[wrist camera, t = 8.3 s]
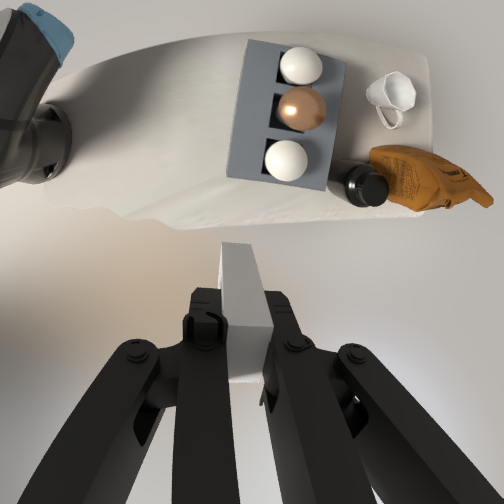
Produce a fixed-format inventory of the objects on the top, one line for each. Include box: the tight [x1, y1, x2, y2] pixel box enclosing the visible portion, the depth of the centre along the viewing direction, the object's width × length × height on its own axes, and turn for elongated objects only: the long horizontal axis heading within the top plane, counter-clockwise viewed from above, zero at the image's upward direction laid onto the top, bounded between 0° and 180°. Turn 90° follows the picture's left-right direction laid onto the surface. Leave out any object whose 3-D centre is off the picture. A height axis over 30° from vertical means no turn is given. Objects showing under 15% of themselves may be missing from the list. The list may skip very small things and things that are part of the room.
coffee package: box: [369, 145, 493, 212], centre depth 35 cm, size 10×12×22 cm
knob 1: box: [277, 47, 323, 86], centre depth 31 cm, size 5×5×8 cm
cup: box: [366, 71, 416, 129], centre depth 36 cm, size 7×10×8 cm
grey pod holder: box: [226, 39, 346, 192], centre depth 36 cm, size 14×20×8 cm
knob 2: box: [264, 140, 308, 181], centre depth 36 cm, size 5×5×8 cm
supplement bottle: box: [327, 159, 389, 207], centre depth 40 cm, size 7×7×12 cm
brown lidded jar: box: [275, 86, 326, 131], centre depth 30 cm, size 5×5×8 cm
